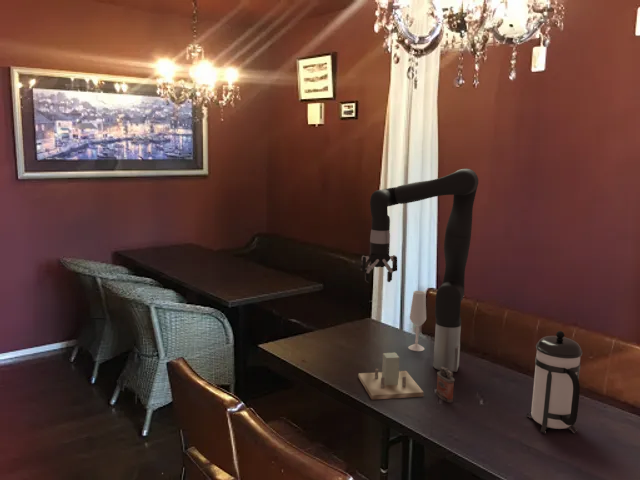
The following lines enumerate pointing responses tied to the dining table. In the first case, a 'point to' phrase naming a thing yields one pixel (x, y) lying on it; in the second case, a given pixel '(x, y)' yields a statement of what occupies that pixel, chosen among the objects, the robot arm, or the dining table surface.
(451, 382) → the lighter
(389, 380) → the sage block
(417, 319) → the champagne flute
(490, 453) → the dining table surface
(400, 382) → the peg board
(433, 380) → the dining table surface
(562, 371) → the coffee press
